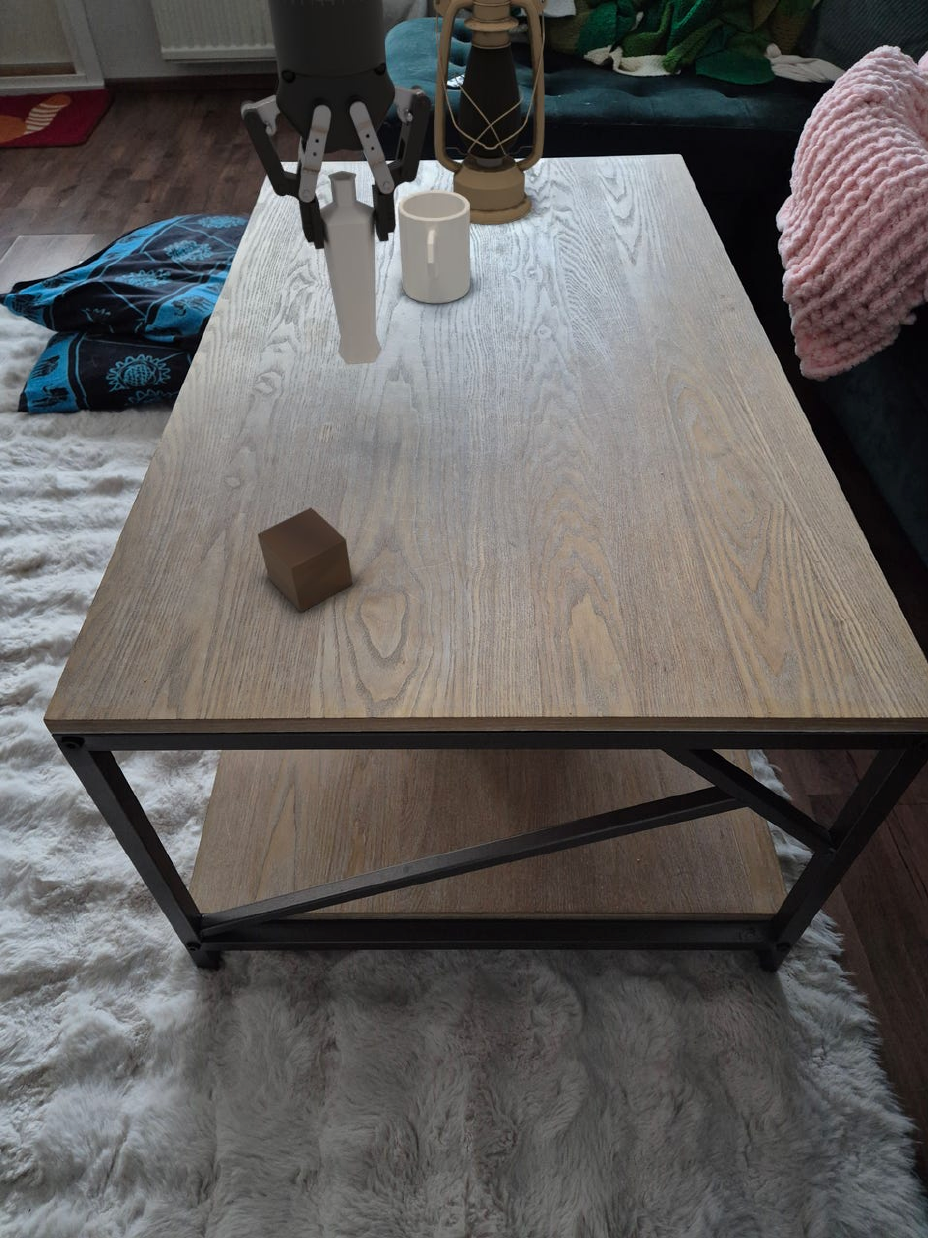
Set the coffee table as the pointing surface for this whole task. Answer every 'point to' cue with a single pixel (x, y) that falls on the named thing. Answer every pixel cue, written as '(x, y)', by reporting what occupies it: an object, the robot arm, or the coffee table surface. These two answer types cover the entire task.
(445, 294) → the mug
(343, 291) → the perfume bottle
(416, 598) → the coffee table surface
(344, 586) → the walnut block
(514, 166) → the lantern
